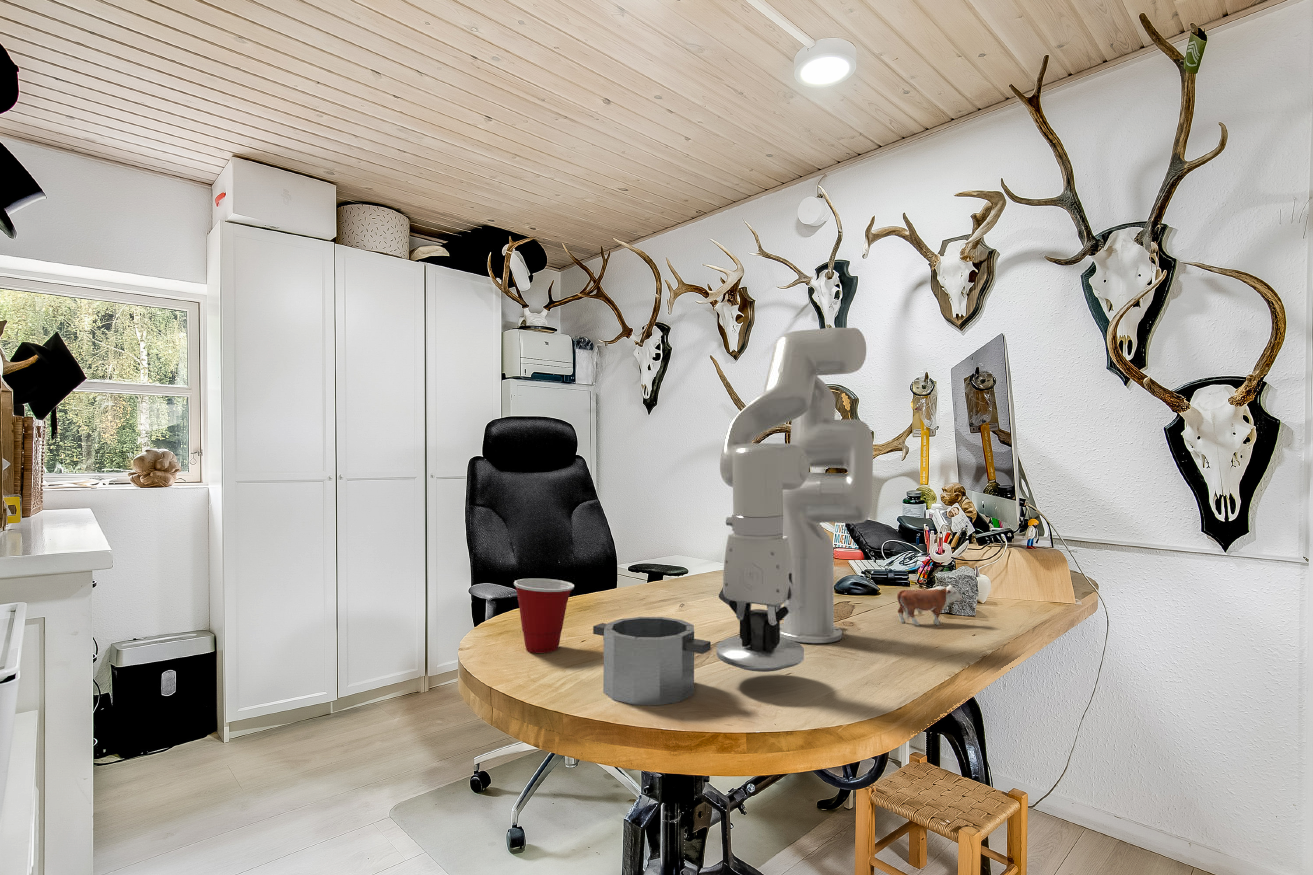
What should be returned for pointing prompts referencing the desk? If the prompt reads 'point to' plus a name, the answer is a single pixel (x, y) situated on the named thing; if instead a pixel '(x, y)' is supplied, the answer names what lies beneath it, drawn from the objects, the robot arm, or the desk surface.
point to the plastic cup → (542, 612)
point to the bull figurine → (925, 602)
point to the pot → (649, 659)
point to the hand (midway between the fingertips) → (759, 645)
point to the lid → (759, 648)
